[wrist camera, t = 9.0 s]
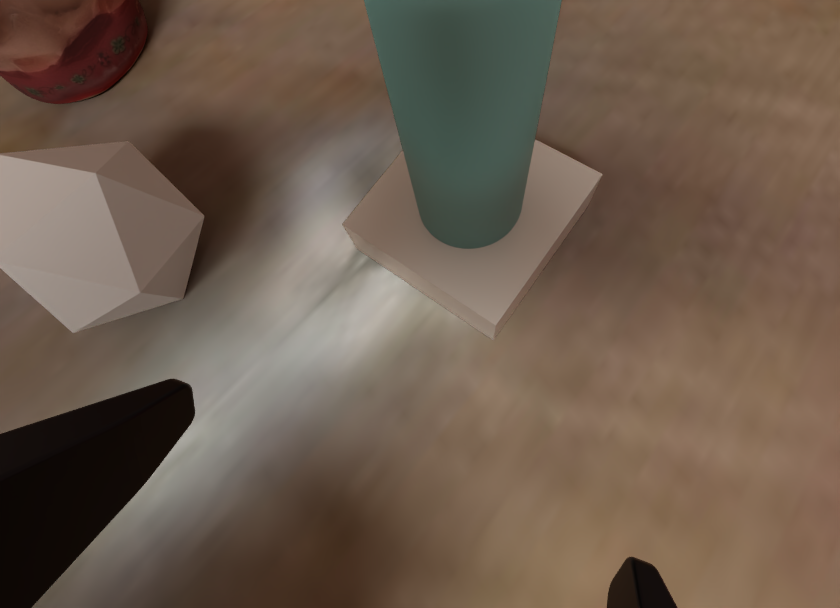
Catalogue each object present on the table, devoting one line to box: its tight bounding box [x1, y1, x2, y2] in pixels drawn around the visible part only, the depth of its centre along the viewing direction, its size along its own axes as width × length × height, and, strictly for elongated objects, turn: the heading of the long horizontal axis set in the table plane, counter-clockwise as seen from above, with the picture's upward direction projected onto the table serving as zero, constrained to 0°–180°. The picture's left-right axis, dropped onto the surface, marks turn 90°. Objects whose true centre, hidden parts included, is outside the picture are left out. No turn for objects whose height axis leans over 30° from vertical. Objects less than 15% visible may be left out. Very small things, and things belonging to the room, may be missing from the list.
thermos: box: [364, 0, 562, 249], centre depth 16 cm, size 5×5×13 cm
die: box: [0, 141, 204, 333], centre depth 23 cm, size 8×9×10 cm
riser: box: [342, 139, 603, 340], centre depth 24 cm, size 9×9×3 cm
